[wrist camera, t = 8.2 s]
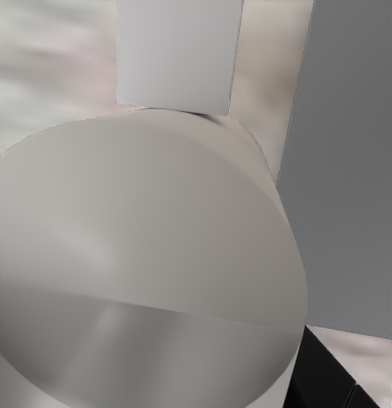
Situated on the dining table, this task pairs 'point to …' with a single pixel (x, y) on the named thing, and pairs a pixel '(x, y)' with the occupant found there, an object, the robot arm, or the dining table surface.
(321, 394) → the robot arm
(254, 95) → the dining table surface
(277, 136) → the dining table surface
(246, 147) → the white rounded piece
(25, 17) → the dining table surface
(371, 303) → the rubber mat
